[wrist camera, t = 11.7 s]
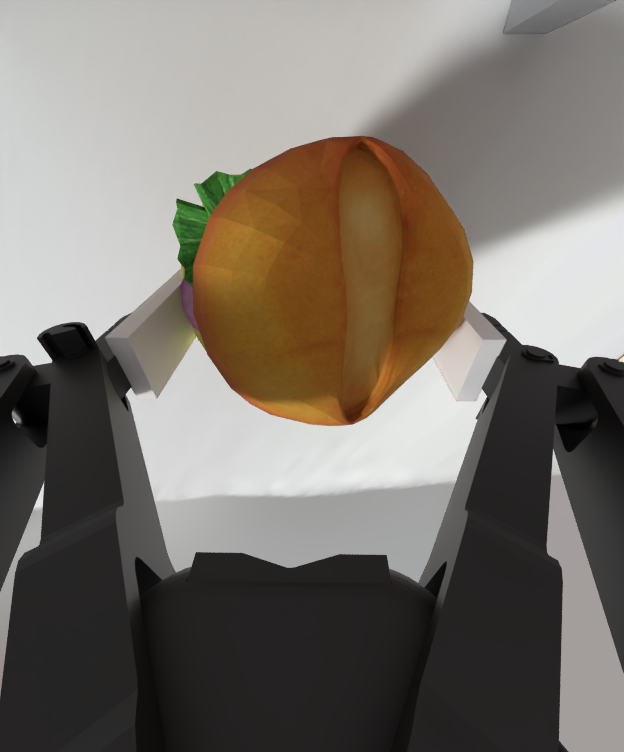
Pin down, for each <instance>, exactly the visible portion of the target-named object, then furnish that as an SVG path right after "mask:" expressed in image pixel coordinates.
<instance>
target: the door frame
mask: <svg viewBox="0 0 624 752" xmlns="http://www.w3.org/2000/svg"><path fill="white" fill-rule="evenodd" d="M613 1H616V0H512V2H511V5H510V9H509V13H508V16H507V20H506V24H505V27H504V31H503V34H546V33H549V32H551V31H553V30H555V29H557V28H559V27H561V26H563V25H565V24H567V23H569V22H572V21H574V20H576V19H578V18H580V17H582V16H584V15H586V14H588V13H590V12H592V11H595V10H597V9H599V8H601V7H603V6H605V5H607V4H609V3H611V2H613Z"/></svg>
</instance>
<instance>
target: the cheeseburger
mask: <svg viewBox="0 0 624 752" xmlns="http://www.w3.org/2000/svg"><path fill="white" fill-rule="evenodd" d="M194 186H195V188H196V190H197V192H198V194H199V196H200V198H201V201H202V203H203V205H202V206H199V205H196V204H192V203H189V202H186V201H183V200H180V199H177V201H176V203H177V208H178V209H177V212H176V215H175V218H174V221H173V227H174V230H175V233H176V235H177V238H178V241H179V243H180V250H179V255H178V260H179V262H180V263H181V265H182V266H181V291H182V300H183V308H184V310H185V312H186V314H187V316H188V318H189V320H190V322H191V325H192V327H193V330H194V332H195V334H196V336H197V338H198V339H199V341H200V342H201V344H202V346H203V347H204V349H205V350H206V352H207V355H208V356H209V357H210V359H211V360H212V362H213V363H214V365H215V366H216V367H217V369H218V370H219V372H220V373H221V375H222V376H223V377H224V379H225V380H226V382H227V383H228V385H229V386H230V387H231V388H232V389H233V390H234V391H235V392H236V393H238V394H239V395H240V396H241V397H243V398H244V399H245V400H246V401H248V402H249V403H250V404H252V405H254V406H255V407H257V408H259V409H261V410H263V411H265V412H267V413H269V414H271V415H274V416H278V417H282V418H286V419H291V420H295V421H299V422H303V423H307V424H313V425H326V426H341V425H352V424H355V423H357V422H359V421H361V420H363V419H365V418H367V417H368V416H369V415H371V414H372V413H373V412H374V411H375V410H376V409H377V408H378V407H379V406H380V405H381V404H382V403H383V402H384V401H385V400H386V399H388V398H389V397H390V396H391V395H392V394H393V393H394V392H395V391H396V390H397V389H398V388H399V387H400V386H401V385H402V384H403V383H404V382H405V381H406V380H408V379H409V378H410V377H411V376H412V375H413V374H414V373H415V372H416V371H418V370H419V369H420V368H421V367H422V366H423V365H424V364H425V363H426V362H427V361H428V360H429V359H431V358H432V357H433V356H434V355H435V354H436V353H437V352H438V351H439V350H440V349H441V348H442V347H443V345H444V344H445V343H446V341H447V340H448V339H449V337H450V336H451V335H452V334H453V332H454V331H455V330H456V328H457V327H458V326H459V324H460V323H461V322H462V319H463V316H464V313H465V310H466V307H467V305H468V302H469V299H470V296H471V293H472V278H473V258H472V255H471V251H470V248H469V244H468V241H467V237H466V234H465V230H464V228H463V227H462V225H461V224H460V222H459V220H458V219H457V217H456V216H455V214H454V213H453V211H452V209H451V208H450V207H449V205H448V204H447V202H446V201H445V200H444V198H443V197H442V195H441V194H440V192H439V191H438V189H437V188H436V186H435V185H434V183H433V182H432V180H431V179H430V177H429V176H428V174H427V173H426V172H425V171H424V170H422V169H421V168H420V167H419V166H418V165H417V164H416V163H415V162H414V161H413V160H412V159H411V158H409V157H408V156H407V155H406V154H405V153H404V152H403V151H401V150H399V149H397V148H395V147H393V146H391V145H389V144H387V143H385V142H383V141H380V140H377V139H375V138H372V137H364V136H354V137H332V138H328V139H323V140H319V141H316V142H312V143H309V144H305V145H302V146H298V147H295V148H291V149H289V150H287V151H285V152H284V153H282V154H280V155H278V156H276V157H274V158H272V159H270V160H269V161H267V162H265V163H263V164H261V165H259V166H257V167H256V168H254V169H249V170H248V171H246V172H245V173H243V174H241V175H229V174H225V173H221V172H217V171H216V172H215V173H214V174H213V175H211V176H210V177H209V178H208V179H207V180H205V181H204V182H203V183H202V184H197V183H196V184H194Z"/></svg>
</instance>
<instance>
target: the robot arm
mask: <svg viewBox="0 0 624 752" xmlns="http://www.w3.org/2000/svg"><path fill="white" fill-rule="evenodd" d="M195 338H196V334H195V332H194V330H193V327H192V325H191V322H190V320H189V318H188V316H187V314H186V312H185V310H184V308H183V300H182V291H181V269H180V270H179V271H178V272H177V273H176V274H175V275H173V276H172V277H171V278H170V279H169V280H168V281H167V282H166V283H165V284H163V285H162V286H161V287H160V288H159V289H158V290H157V291H156V292H155V293H154V294H152V295H151V296H150V297H149V298H148V299H147V300H146V301H145V302H144V303H142V304H141V305H140V306H139V307H138V308H137V309H136V310H135V311H134V312H132V313H130V314H128V315H126V316H124V317H122V318H121V319H120V320H119V321H117V322H116V323H115V324H114V326H112V327H111V328H110V329H108V331H106V332H105V333H104V334H103V335H102V336H100V337H99V338H98V339H97V340H96V341H95V340H94V338H93V336H92V335H91V333H90V331H89V329H88V327H87V326H86V325H85V324H84V323H80V322H71V323H65V324H61V325H57V326H54V327H51V328H49V329H47V330H45V331H43V332H42V333H41V334H39V336H38V337H37V339H38V341H39V342H40V343H41V345H42V346H43V348H44V349H45V350H46V352H47V353H48V355H49V356H50V357H51V359H52V363H48V364H42V365H36V366H33V365H32V364H31V363H30V362H29V360H28V359H27V358H26V357H25V356H24V355H9V356H4V357H3V356H1V357H0V591H1V588H2V586H3V583H4V581H5V578H6V576H7V573H8V571H9V568H10V565H11V563H12V561H13V558H14V556H15V553H16V551H17V548H18V546H19V543H20V541H21V538H22V535H23V533H24V530H25V528H26V526H27V523H28V520H29V518H30V515H31V513H32V510H33V508H34V505H35V503H36V500H37V498H38V495H39V493H40V490H41V488H42V485H43V483H44V498H43V514H42V529H41V540H40V545H39V546H38V547H36V548H34V549H32V550H30V551H28V552H26V553H24V554H23V556H22V557H21V558H20V560H19V561H18V565H17V568H16V572H15V579H14V587H13V596H12V604H11V612H10V621H9V630H8V637H7V646H6V654H5V663H4V671H3V679H2V689H1V696H0V752H568V751H567V750H566V748H565V747H564V746H563V745H562V744H561V743H560V741H559V707H560V669H561V628H562V590H563V589H562V588H563V580H562V569H561V566H560V565H559V562H558V560H556V559H554V558H552V557H551V556H549V555H548V553H547V546H546V543H547V529H548V514H549V499H550V485H551V471H552V456H553V449H554V452H555V455H556V459H557V462H558V465H559V468H560V471H561V475H562V478H563V481H564V484H565V487H566V490H567V494H568V497H569V500H570V503H571V506H572V510H573V513H574V516H575V519H576V523H577V526H578V529H579V532H580V535H581V539H582V542H583V545H584V548H585V551H586V555H587V558H588V561H589V564H590V567H591V570H592V574H593V577H594V580H595V583H596V586H597V589H598V593H599V596H600V599H601V603H602V606H603V609H604V612H605V615H606V618H607V622H608V625H609V628H610V631H611V635H612V638H613V641H614V644H615V647H616V651H617V654H618V657H619V660H620V663H621V667H622V670H623V672H624V362H622V361H621V362H619V360H616V359H609V358H604V357H591V358H589V359H588V360H587V361H586V362H585V363H584V365H583V366H582V367H581V368H576V367H570V366H565V365H559V362H558V359H557V358H556V357H555V356H554V355H553V354H552V353H550V352H548V351H546V350H544V349H541V348H538V347H535V346H529V345H522V344H521V343H520V342H519V341H518V340H517V339H516V338H515V337H514V336H513V335H512V334H510V333H509V332H507V330H506V329H505V328H504V327H503V326H502V325H501V324H500V323H499V322H498V321H497V320H496V319H495V318H493V317H491V316H489V315H487V314H486V313H480V312H479V311H478V310H477V309H476V308H475V307H474V306H473V305H472V304H471V303H470V302H468V305H467V307H466V310H465V313H464V316H463V319H462V322H461V323H460V324H459V326H458V327H457V328H456V330H455V331H454V332H453V334H452V335H451V336H450V337H449V339H448V340H447V341H446V343H445V344H444V345H443V347H442V348H441V349H440V350H439V351H438V352H437V353H436V354H435V355H434V356H433V357H432V358H433V360H434V362H435V364H436V365H437V367H438V369H439V371H440V373H441V375H442V376H443V378H444V380H445V382H446V384H447V386H448V387H449V389H450V391H451V393H452V395H453V397H454V399H455V400H456V401H476V400H477V398H478V396H479V394H480V392H481V390H482V389H483V391H484V392H485V394H486V395H487V398H486V400H485V402H484V404H483V406H482V408H481V409H480V411H479V413H478V415H477V417H476V419H478V421H477V423H476V426H475V429H474V432H473V435H472V438H471V441H470V444H469V446H468V449H467V452H466V455H465V458H464V461H463V464H462V466H461V469H460V472H459V475H458V478H457V481H456V484H455V487H454V490H453V492H452V495H451V498H450V501H449V504H448V507H447V510H446V512H445V515H444V518H443V521H442V524H441V527H440V530H439V532H438V535H437V538H436V542H435V544H434V547H433V550H432V552H431V555H430V558H429V561H428V563H427V565H426V567H425V569H424V571H423V574H422V576H421V578H420V580H419V583H417V582H416V581H414V580H412V579H411V578H409V577H407V576H405V575H403V574H401V573H399V572H397V571H394V570H391V569H389V567H388V560H387V555H345V554H344V555H343V554H340V555H336V556H333V557H329V558H326V559H322V560H319V561H315V562H312V563H308V564H305V565H302V566H298V567H294V568H286V567H283V566H280V565H277V564H274V563H271V562H268V561H265V560H261V559H258V558H255V557H252V556H250V555H247V554H244V553H202V552H198V553H197V552H196V554H195V557H194V561H193V564H192V567H189V568H186V569H184V570H181V571H179V572H177V573H176V572H175V570H174V568H173V566H172V564H171V562H170V559H169V556H168V553H167V550H166V546H165V542H164V538H163V534H162V530H161V526H160V522H159V518H158V514H157V510H156V506H155V502H154V498H153V494H152V490H151V486H150V482H149V478H148V474H147V470H146V466H145V462H144V458H143V454H142V450H141V446H140V442H139V438H138V434H137V430H136V426H135V422H134V418H133V414H132V410H131V406H130V402H129V400H128V398H127V396H126V395H125V394H126V393H127V392H128V391H129V389H130V388H132V390H133V392H134V393H135V395H136V397H137V399H157V398H158V396H159V395H160V393H161V391H162V390H163V388H164V387H165V385H166V384H167V382H168V380H169V379H170V377H171V376H172V374H173V372H174V371H175V369H176V368H177V366H178V365H179V363H180V361H181V360H182V358H183V357H184V355H185V353H186V352H187V350H188V349H189V347H190V346H191V344H192V342H193V341H194V339H195ZM12 417H13V418H14V420H15V421H16V422H17V423H16V424H15V423H14V421H13V418H12ZM44 480H45V482H44Z"/></svg>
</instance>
